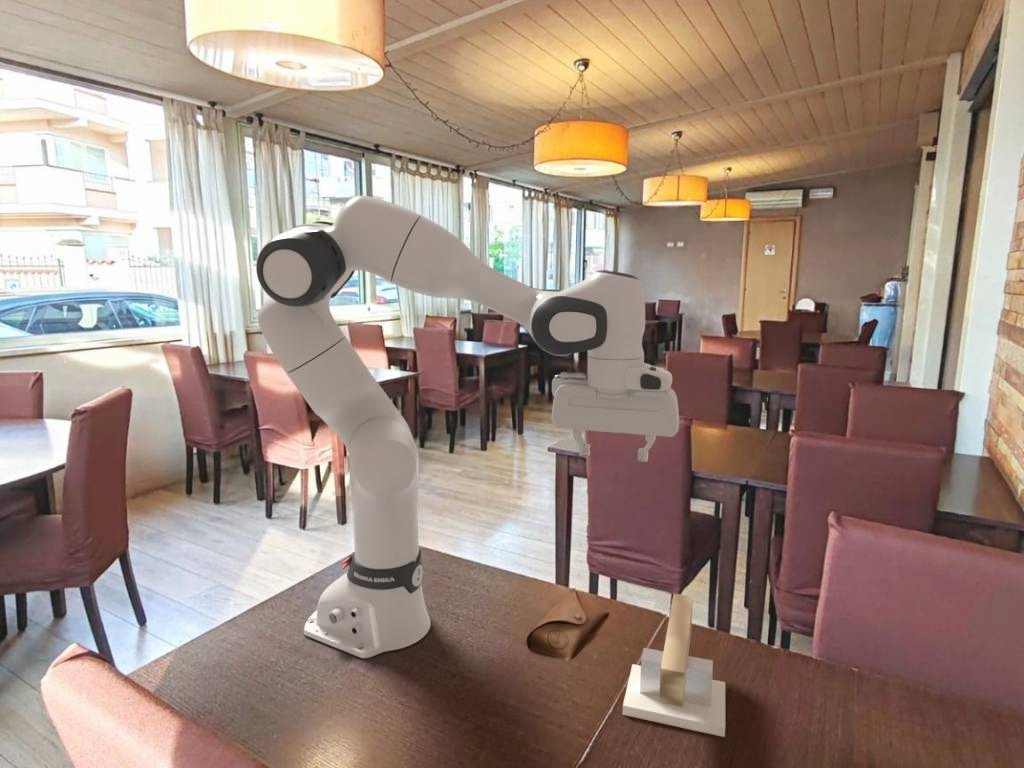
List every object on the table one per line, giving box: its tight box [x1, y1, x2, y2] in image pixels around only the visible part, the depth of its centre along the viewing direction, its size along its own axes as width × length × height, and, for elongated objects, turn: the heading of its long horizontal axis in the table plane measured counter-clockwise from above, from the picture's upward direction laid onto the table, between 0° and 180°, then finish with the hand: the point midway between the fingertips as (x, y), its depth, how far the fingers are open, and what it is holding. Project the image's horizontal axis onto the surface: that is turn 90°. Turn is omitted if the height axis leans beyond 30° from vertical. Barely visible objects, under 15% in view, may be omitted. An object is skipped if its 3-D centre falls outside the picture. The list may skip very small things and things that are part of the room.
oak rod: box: [659, 593, 694, 707], centre depth 90 cm, size 3×20×5 cm, turn 161°
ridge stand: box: [622, 647, 726, 738], centre depth 91 cm, size 14×10×7 cm
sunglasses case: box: [526, 587, 609, 662], centre depth 111 cm, size 18×7×7 cm
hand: (613, 457), depth 101 cm, fingers open, 8 cm apart
